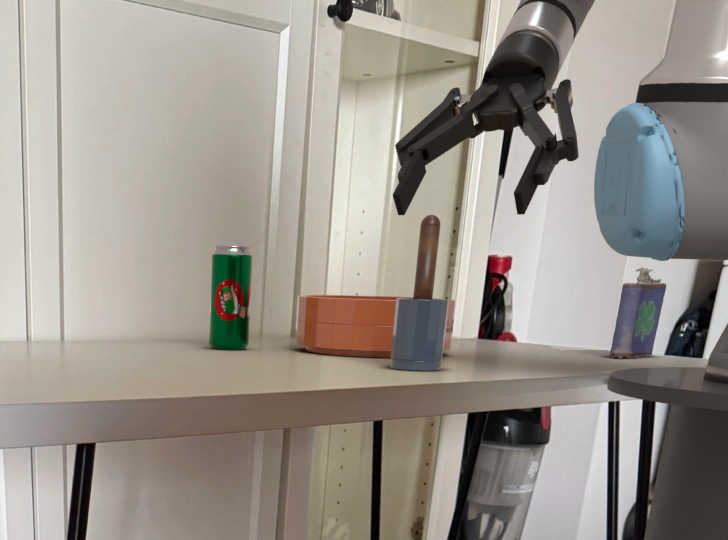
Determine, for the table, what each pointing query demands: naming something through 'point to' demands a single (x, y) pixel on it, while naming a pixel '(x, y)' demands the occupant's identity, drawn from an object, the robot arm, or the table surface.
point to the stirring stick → (427, 258)
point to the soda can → (230, 297)
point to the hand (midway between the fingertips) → (456, 204)
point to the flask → (638, 316)
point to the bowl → (352, 324)
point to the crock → (419, 334)
